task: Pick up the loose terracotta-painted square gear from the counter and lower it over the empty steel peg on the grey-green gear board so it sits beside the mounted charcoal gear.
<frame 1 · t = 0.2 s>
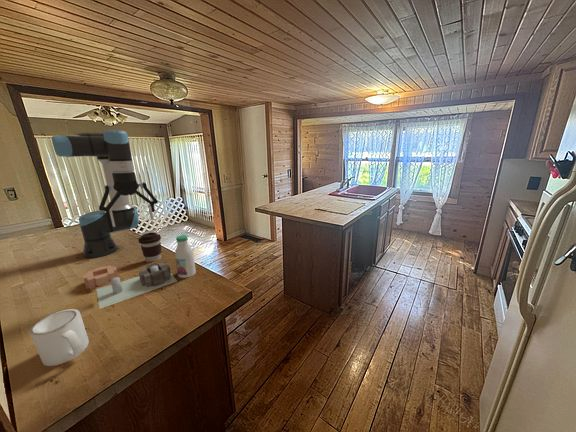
hand: (133, 222, 97), 27 cm above the counter, fingers open, 13 cm apart
mug: (68, 352, 68), on the counter
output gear: (156, 279, 102), resting on board
board: (138, 288, 98), on the counter
gear: (103, 282, 102), on the counter
coffee cup: (154, 261, 121), on the counter
milk bottle: (187, 276, 107), on the counter
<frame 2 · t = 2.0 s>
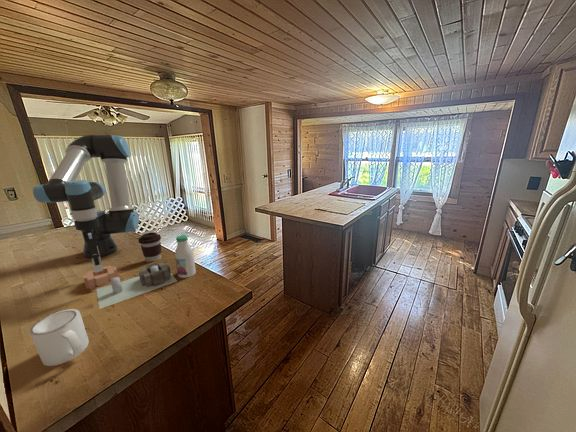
hand: (98, 265, 100), 9 cm above the counter, fingers open, 13 cm apart
nothing on the counter moved.
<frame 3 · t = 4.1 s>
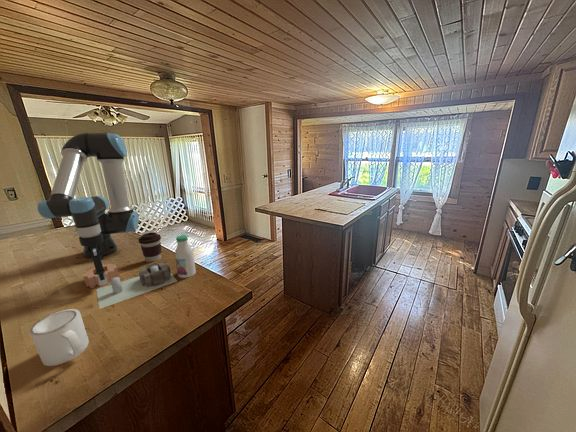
hand: (102, 279, 103), 1 cm above the counter, fingers closed on gear, 11 cm apart
gear: (103, 279, 103), point 1 cm above the counter, touching gripper
everything else where it was.
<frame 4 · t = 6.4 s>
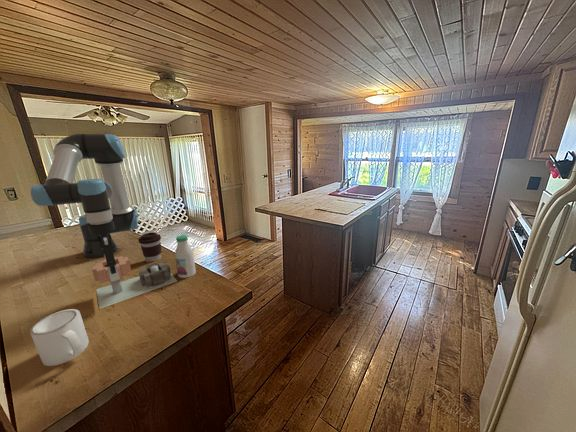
hand: (113, 273, 91), 10 cm above the counter, fingers closed on gear, 11 cm apart
gear: (113, 274, 91), point 10 cm above the counter, touching gripper
everything else where it was.
when the fingers open (3 cm above the counter, at t = 8.4 s): gear drops 1 cm, resting on board.
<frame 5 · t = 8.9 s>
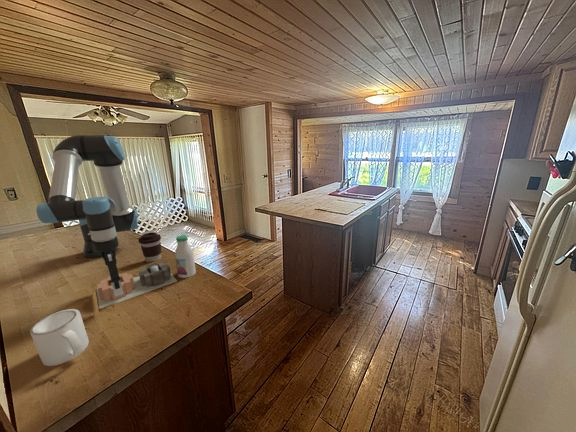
hand: (116, 287, 92), 4 cm above the counter, fingers open, 13 cm apart
gear: (118, 291, 93), point 1 cm above the counter, touching board
everything else where it was.
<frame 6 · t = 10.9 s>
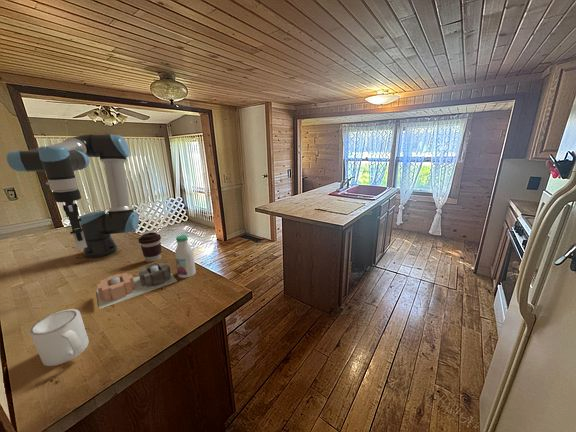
hand: (81, 242, 91), 22 cm above the counter, fingers open, 13 cm apart
nothing on the counter moved.
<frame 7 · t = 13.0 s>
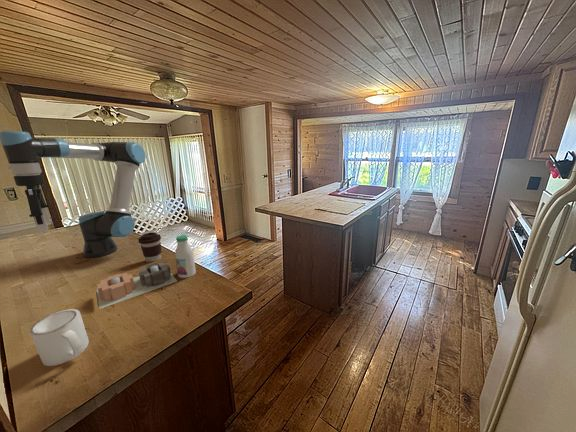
hand: (45, 227, 93), 27 cm above the counter, fingers open, 13 cm apart
nothing on the counter moved.
at the end: gear 0.1 cm from the target spot on the board, point 1.5 cm above the board's base; gear tilted 0°; the gripper is holding nothing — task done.
